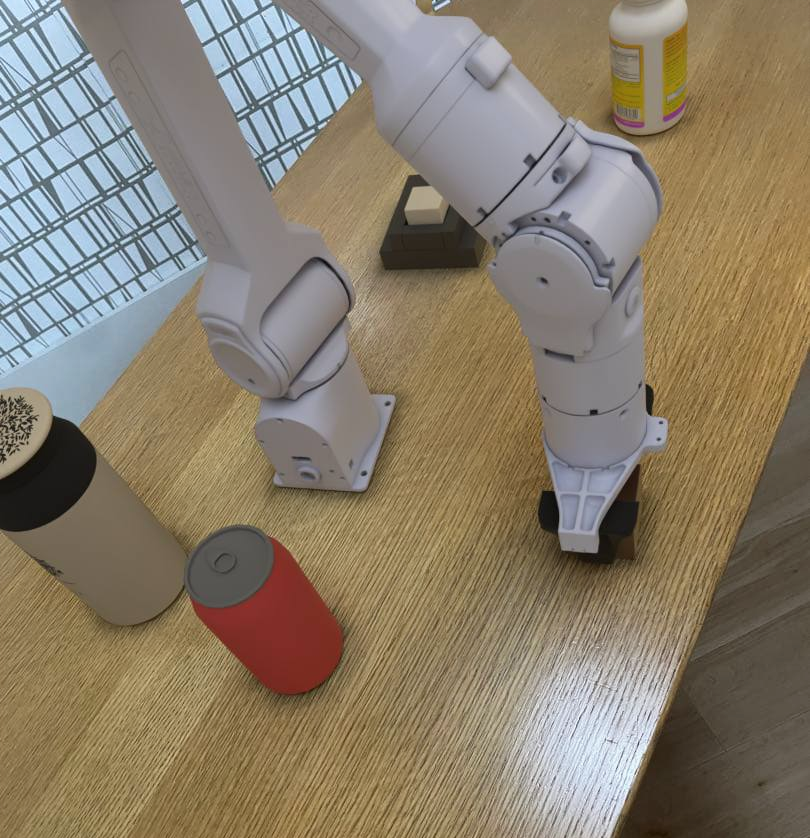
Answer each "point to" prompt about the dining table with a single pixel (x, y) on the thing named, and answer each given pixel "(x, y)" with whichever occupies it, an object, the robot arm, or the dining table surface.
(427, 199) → the key
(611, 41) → the supplement bottle
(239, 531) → the beer can
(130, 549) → the travel mug
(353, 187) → the dining table surface
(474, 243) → the button base
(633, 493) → the walnut block
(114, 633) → the dining table surface
